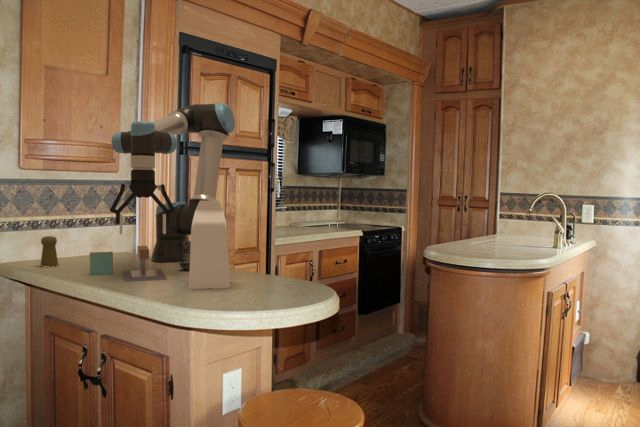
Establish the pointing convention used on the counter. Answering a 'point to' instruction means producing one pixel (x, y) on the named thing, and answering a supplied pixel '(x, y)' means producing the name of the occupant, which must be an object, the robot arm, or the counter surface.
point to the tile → (101, 263)
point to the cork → (49, 251)
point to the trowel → (143, 265)
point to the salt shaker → (186, 255)
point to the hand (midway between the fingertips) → (142, 234)
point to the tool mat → (161, 276)
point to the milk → (209, 247)
